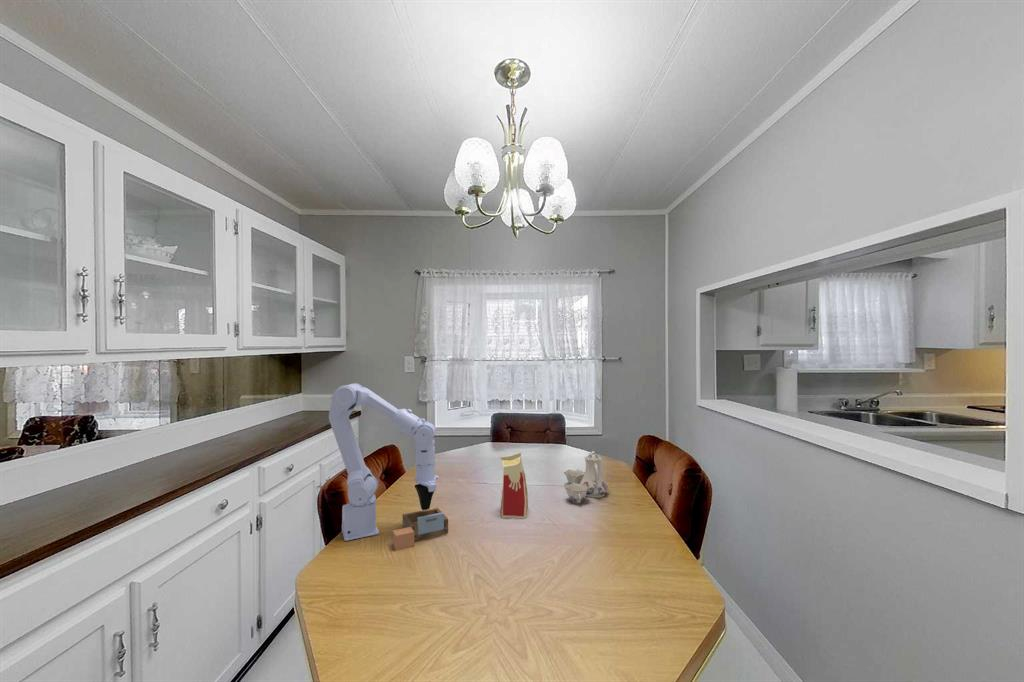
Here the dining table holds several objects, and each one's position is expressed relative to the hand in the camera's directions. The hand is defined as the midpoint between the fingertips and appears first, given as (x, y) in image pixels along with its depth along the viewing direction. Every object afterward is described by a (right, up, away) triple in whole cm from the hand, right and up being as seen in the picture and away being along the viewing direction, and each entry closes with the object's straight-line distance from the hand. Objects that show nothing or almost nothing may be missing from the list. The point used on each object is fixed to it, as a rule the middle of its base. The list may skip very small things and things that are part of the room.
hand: (425, 508), depth 121 cm
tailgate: (+3, -5, -5) cm, 8 cm away
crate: (0, -6, -1) cm, 6 cm away
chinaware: (+54, -7, +31) cm, 63 cm away
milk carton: (+27, -7, +13) cm, 30 cm away
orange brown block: (-4, -6, -10) cm, 12 cm away
